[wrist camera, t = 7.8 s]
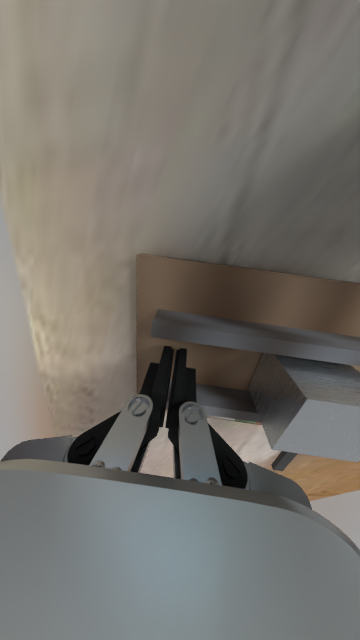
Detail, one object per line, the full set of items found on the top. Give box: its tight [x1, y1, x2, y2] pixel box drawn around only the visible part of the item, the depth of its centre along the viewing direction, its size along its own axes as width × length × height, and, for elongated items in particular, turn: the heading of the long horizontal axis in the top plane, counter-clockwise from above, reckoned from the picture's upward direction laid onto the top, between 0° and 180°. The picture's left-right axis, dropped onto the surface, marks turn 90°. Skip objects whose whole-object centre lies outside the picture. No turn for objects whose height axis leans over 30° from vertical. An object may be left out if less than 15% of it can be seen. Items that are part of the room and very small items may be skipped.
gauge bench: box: [137, 254, 360, 425], centre depth 10 cm, size 24×14×7 cm, turn 83°
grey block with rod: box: [248, 353, 360, 471], centre depth 11 cm, size 11×9×4 cm
